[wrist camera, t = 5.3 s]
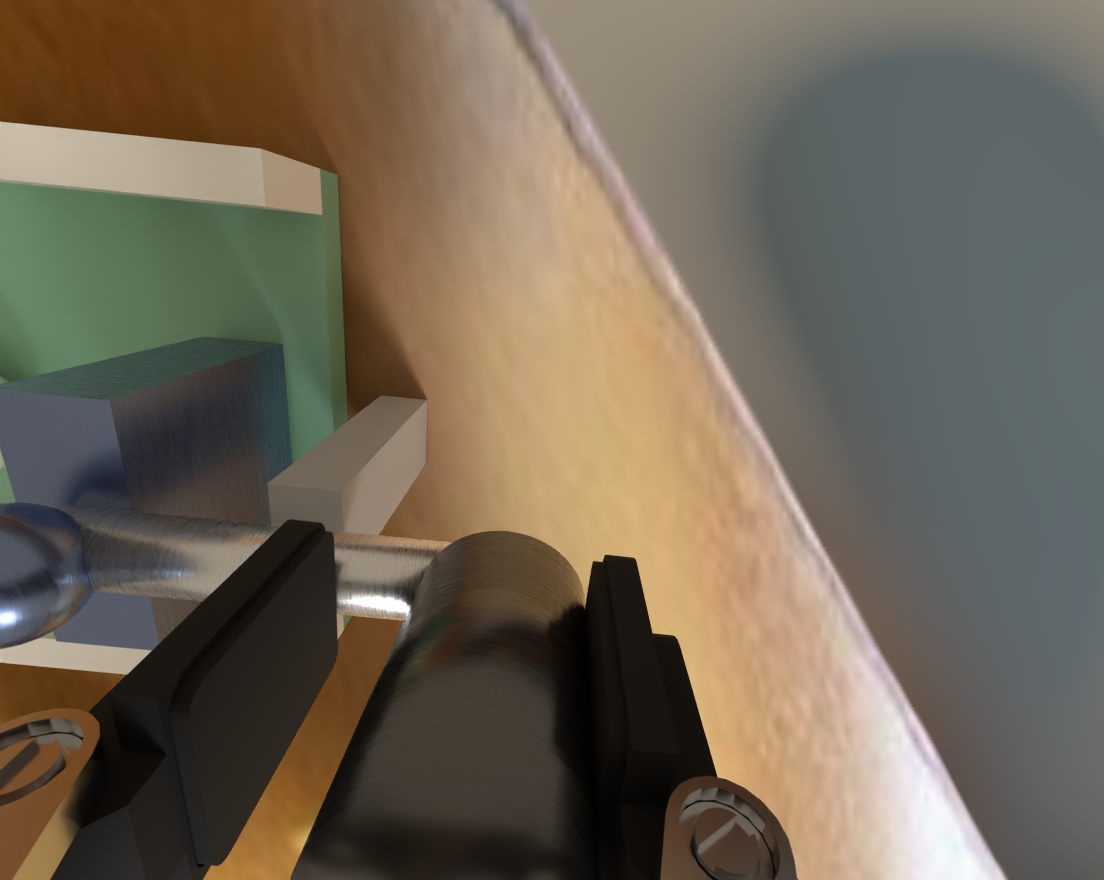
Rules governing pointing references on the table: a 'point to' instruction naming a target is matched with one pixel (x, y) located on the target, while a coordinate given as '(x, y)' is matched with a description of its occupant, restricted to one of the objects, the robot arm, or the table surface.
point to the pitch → (194, 306)
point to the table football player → (361, 590)
